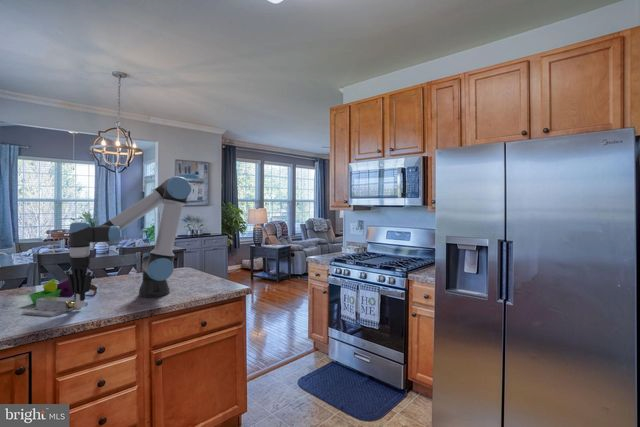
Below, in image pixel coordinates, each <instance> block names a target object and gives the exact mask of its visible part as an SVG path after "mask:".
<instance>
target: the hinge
mask: <svg viewBox="0 0 640 427" xmlns="http://www.w3.org/2000/svg"><path fill="white" fill-rule="evenodd" d="M69 302H72V303H75V302H76V300H75V297H61V296H59V297H44V298H40V299H37V300H36V304H35V305H36V307H33V308H29V309H26V310H24V311H23V310H22V312H21V314H22V315H29V316H39V317H40V316H41V317H51V318H52V317H55V316H58V315H61V314H65V313H67V312H71V311H73V310H75V309H74V308H71V307H68V303H69ZM85 306H89V302H87V301H84V307H85Z"/></svg>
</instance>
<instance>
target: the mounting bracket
mask: <svg viewBox="0 0 640 427" xmlns="http://www.w3.org/2000/svg"><path fill="white" fill-rule="evenodd" d="M57 289H61V292H60V295H59V297H63V298H71V297H72V296H74V294H75V293H74V292H71V289H70V284H69V280H68V278H67V279H64V280H63V281H60V282H58V283H57Z"/></svg>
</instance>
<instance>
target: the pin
mask: <svg viewBox="0 0 640 427" xmlns="http://www.w3.org/2000/svg"><path fill="white" fill-rule="evenodd" d="M68 307H71V308H74V310H75V311H80V310H82V308H76V302H75V303H72V302H69V303H68Z"/></svg>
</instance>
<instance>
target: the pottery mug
mask: <svg viewBox="0 0 640 427" xmlns="http://www.w3.org/2000/svg"><path fill="white" fill-rule="evenodd" d="M97 289H98V287H97V286H96V285H94V284H92V283H91V285H90V290H89V291H92V292H93V297H95V296H96V294H97V292H98V290H97ZM73 298H75V293H74V294H73Z"/></svg>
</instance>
